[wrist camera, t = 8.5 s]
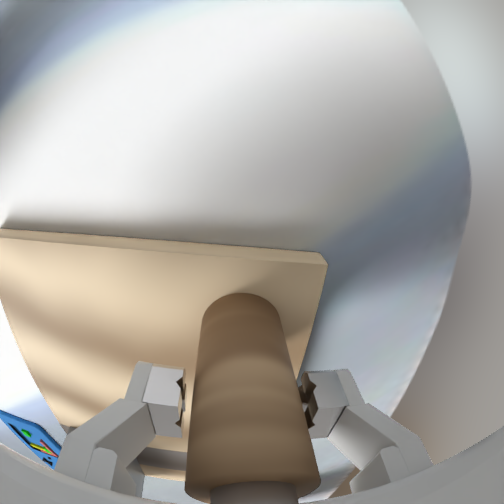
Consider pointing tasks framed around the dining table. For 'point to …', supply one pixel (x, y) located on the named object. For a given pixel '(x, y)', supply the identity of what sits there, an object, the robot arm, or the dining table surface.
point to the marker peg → (247, 410)
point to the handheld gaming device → (33, 438)
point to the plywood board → (137, 314)
